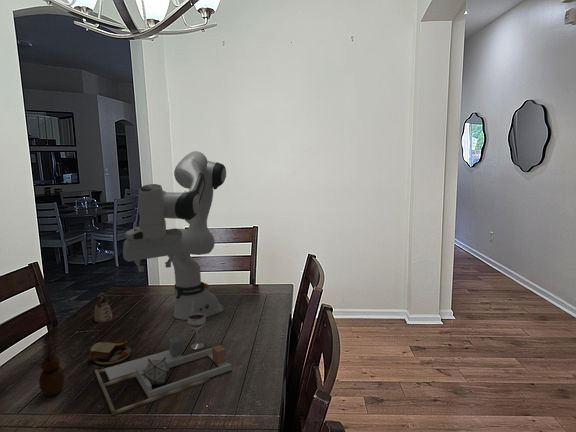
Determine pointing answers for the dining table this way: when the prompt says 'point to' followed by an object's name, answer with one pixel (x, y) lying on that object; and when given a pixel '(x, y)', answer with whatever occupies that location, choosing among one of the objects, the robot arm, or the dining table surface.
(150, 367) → the game die
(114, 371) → the inner strip
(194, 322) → the wineglass
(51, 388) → the wooden figurine
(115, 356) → the toy sandwich meal
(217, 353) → the grey rectangular frame
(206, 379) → the lane rails
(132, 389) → the dining table surface
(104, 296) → the figurine
